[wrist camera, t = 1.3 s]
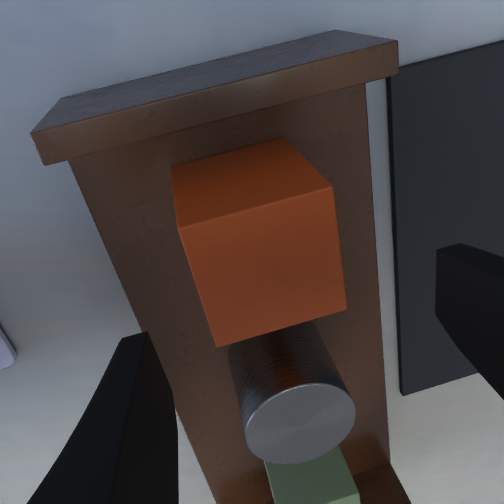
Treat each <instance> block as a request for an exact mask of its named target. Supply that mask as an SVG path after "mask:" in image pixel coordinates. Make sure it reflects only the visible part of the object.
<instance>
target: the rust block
mask: <svg viewBox="0 0 504 504" xmlns="http://www.w3.org/2000/svg"><path fill="white" fill-rule="evenodd" d="M170 174H171V182H172V190H173V197H174V205H175V213H176V221H177V229H178V233H179V236H180V239H181V242H182V245H183V248H184V251H185V254H186V257H187V260H188V263H189V266H190V269H191V272H192V275H193V278H194V281H195V284H196V287H197V290H198V294H199V297H200V300H201V303H202V306H203V309H204V312H205V315H206V318H207V321H208V324H209V327H210V330H211V333H212V336H213V339H214V342H215V345H216V347H221V346H225V345H228V344H232V343H235V342H238V341H242V340H245V339H249V338H252V337H255V336H259V335H262V334H265V333H269V332H272V331H276V330H279V329H282V328H286V327H289V326H293V325H296V324H299V323H303V322H306V321H310V320H313V319H316V318H320V317H323V316H326V315H330V314H333V313H337V312H340V311H343V310H346V309H347V302H346V293H345V285H344V276H343V267H342V259H341V250H340V241H339V233H338V224H337V215H336V207H335V198H334V190H333V186H332V185H331V184H330V183H329V182H328V181H327V180H326V179H325V178H324V177H323V176H322V175H321V174H320V173H319V172H318V171H317V170H316V169H315V168H314V167H313V166H312V165H311V164H310V163H309V162H308V161H307V160H306V159H305V158H304V157H303V156H302V155H301V154H300V153H299V152H298V151H297V150H296V149H295V148H294V147H293V146H292V145H291V144H290V143H289V141H288V140H287V139H286V138H284V137H283V138H279V139H275V140H271V141H268V142H264V143H260V144H256V145H252V146H249V147H245V148H241V149H237V150H234V151H230V152H226V153H222V154H218V155H215V156H211V157H207V158H203V159H199V160H196V161H192V162H188V163H184V164H180V165H177V166H173V167H170Z"/></svg>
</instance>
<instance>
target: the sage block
mask: <svg viewBox="0 0 504 504" xmlns="http://www.w3.org/2000/svg"><path fill="white" fill-rule="evenodd" d="M264 463H265V467H266V471H267V475H268V479H269V483H270V487H271V491H272V495H273V499H274V503H275V504H361V503H360V496H359V491H358V489H357V487H356V484H355V482H354V480H353V477H352V475H351V473H350V470H349V468H348V466H347V463H346V461H345V459H344V456H343V454H342V452H341V449H340V447H339V445H337V446H336V447H335V448H333V449H332V450H331V451H329V452H327V453H326V454H324V455H322V456H320V457H317V458H315V459H312V460H310V461H306V462H302V463H297V464H275V463H270V462H267V461H264Z"/></svg>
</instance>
